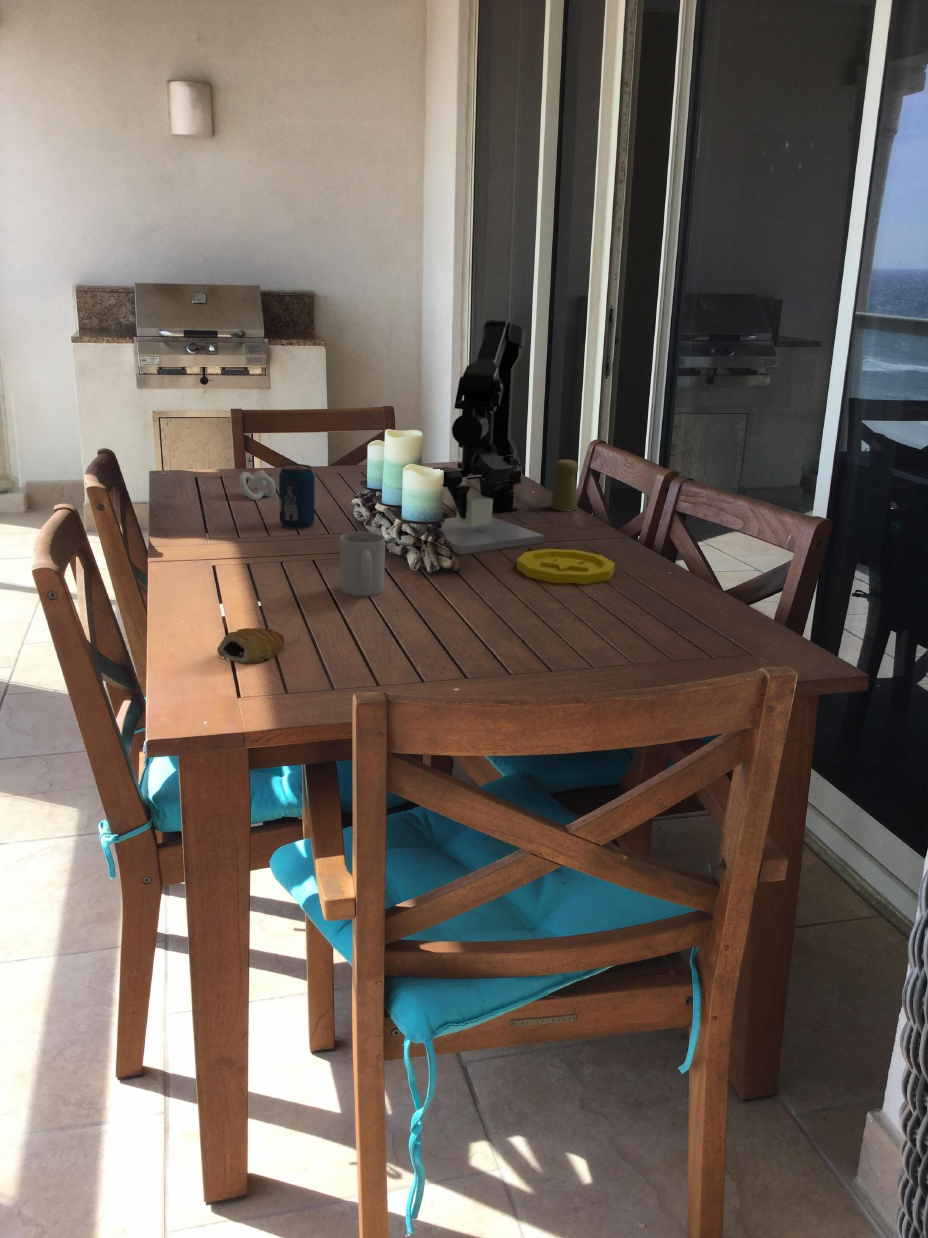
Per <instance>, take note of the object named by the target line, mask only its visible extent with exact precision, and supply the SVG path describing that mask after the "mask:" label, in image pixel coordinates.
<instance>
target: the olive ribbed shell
mask: <svg viewBox="0 0 928 1238" xmlns="http://www.w3.org/2000/svg"><path fill="white" fill-rule="evenodd" d="M284 646H285V637H284V635H283V634H282V633H279V631H275V630H274V629H271V628H268V627H267V628H265V627H264V628H261V627H259V628H258V627H254V628H252V627H251V628H249V627H248V628H247V627H245V628H240V629H237V630H236V631H232V632H228V634H226V635H225V636H224V637H223V639H222V640H221V642H220V644H219V646H217V653H218V655H219V656H220V657H221V656H222V657H224V659H223V660H225V659H227V658H228V659H229V660H230V661H229V662H236V663H239V664H243V665H256V664H259V663H263V661H264V660H266V659H267V660H270V659H272V658H273V657H274V656H275V657H276V655H277V654H279V653H280V652H281V651H283V650H284ZM279 651H280V652H279ZM278 652H279V653H278ZM271 657H272V658H271ZM255 663H256V664H255Z"/></svg>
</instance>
